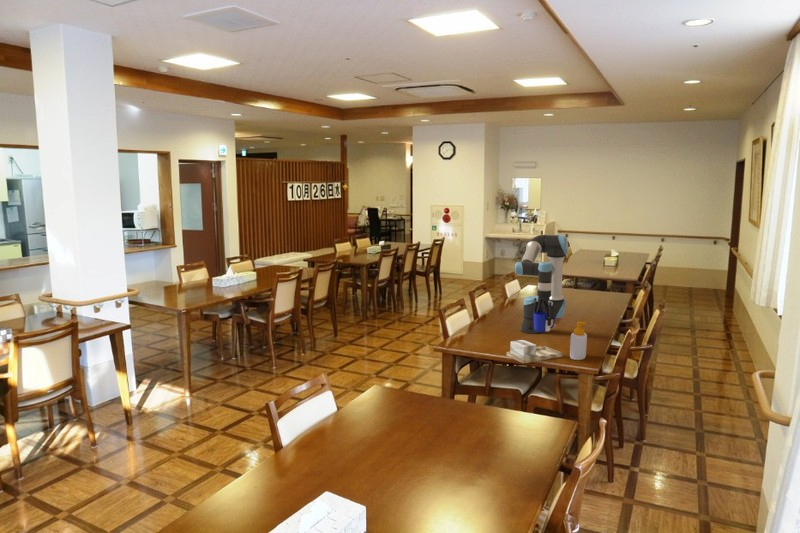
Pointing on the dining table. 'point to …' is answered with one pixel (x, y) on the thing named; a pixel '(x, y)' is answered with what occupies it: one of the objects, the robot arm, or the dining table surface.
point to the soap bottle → (578, 343)
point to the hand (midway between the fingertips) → (542, 329)
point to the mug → (540, 321)
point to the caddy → (531, 352)
